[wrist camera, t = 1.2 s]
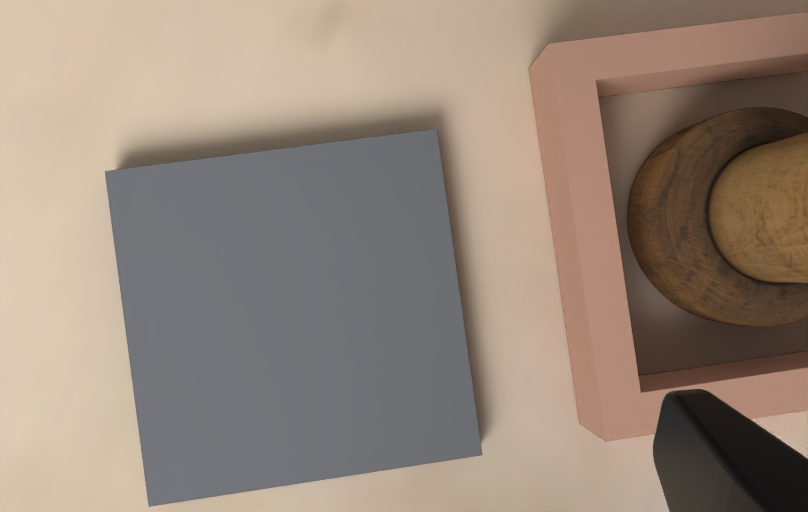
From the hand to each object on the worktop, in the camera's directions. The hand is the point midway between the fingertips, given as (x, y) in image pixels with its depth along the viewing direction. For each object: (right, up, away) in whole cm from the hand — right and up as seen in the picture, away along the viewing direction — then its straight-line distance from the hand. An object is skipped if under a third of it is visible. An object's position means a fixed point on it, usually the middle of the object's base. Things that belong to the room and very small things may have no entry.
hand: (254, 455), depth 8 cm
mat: (-2, 0, +15) cm, 15 cm away
